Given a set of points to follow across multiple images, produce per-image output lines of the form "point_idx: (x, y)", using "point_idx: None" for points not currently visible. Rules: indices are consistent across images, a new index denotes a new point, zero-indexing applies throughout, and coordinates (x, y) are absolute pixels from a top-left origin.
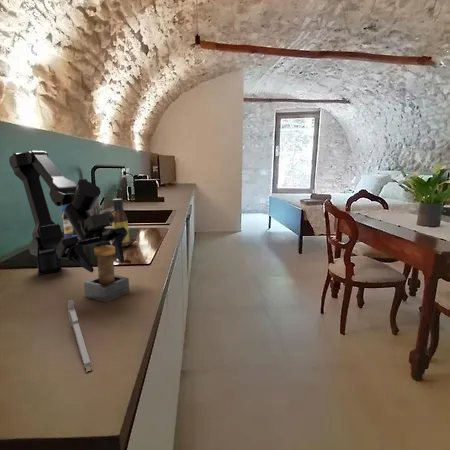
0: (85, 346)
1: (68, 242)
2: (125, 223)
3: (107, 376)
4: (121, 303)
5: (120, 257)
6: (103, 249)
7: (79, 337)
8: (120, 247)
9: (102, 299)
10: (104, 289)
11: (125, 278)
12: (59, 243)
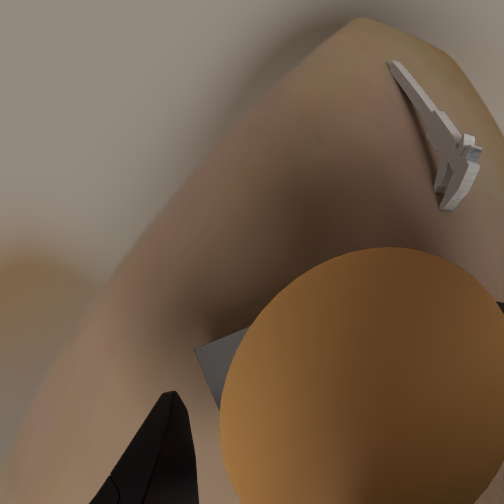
0: (403, 74)
1: None
2: None
3: (366, 48)
4: (284, 257)
5: (177, 431)
6: (436, 311)
7: (418, 88)
8: (115, 498)
9: None
10: None
11: (211, 353)
12: None
